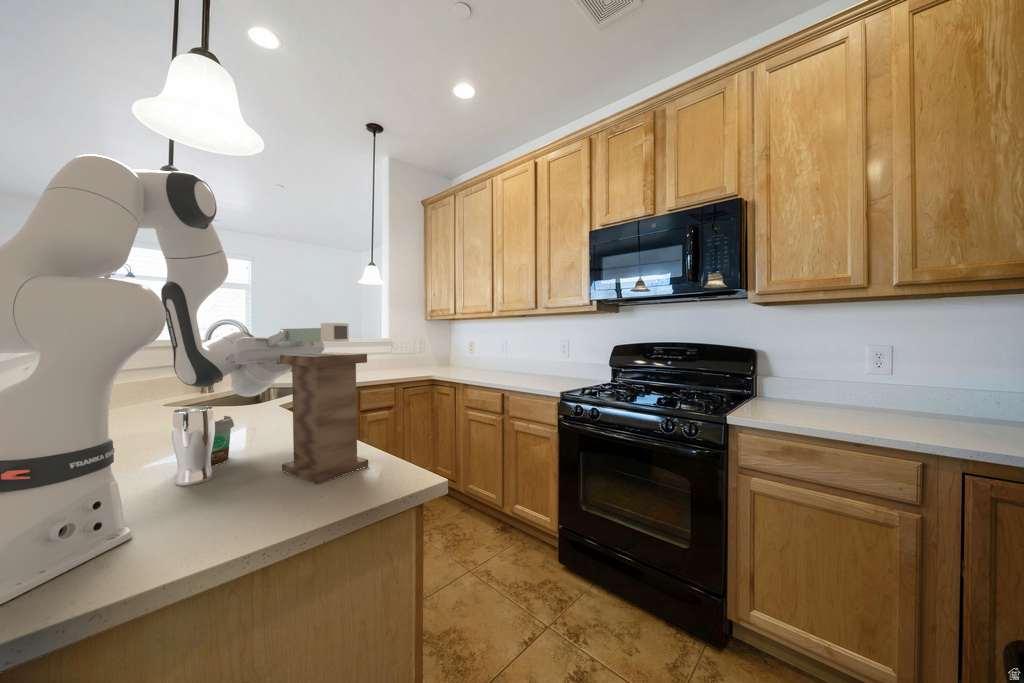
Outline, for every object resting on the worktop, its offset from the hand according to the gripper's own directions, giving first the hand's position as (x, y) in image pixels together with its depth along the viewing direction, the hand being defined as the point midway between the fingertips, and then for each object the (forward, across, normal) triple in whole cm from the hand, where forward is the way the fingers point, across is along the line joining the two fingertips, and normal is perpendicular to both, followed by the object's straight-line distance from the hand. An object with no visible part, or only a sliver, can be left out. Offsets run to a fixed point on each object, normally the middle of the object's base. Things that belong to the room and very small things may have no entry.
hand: (294, 333), depth 91 cm
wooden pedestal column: (-5, 0, +33) cm, 33 cm away
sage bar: (+5, 0, +5) cm, 8 cm away
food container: (-28, -12, +20) cm, 36 cm away
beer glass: (-20, -18, +24) cm, 36 cm away
